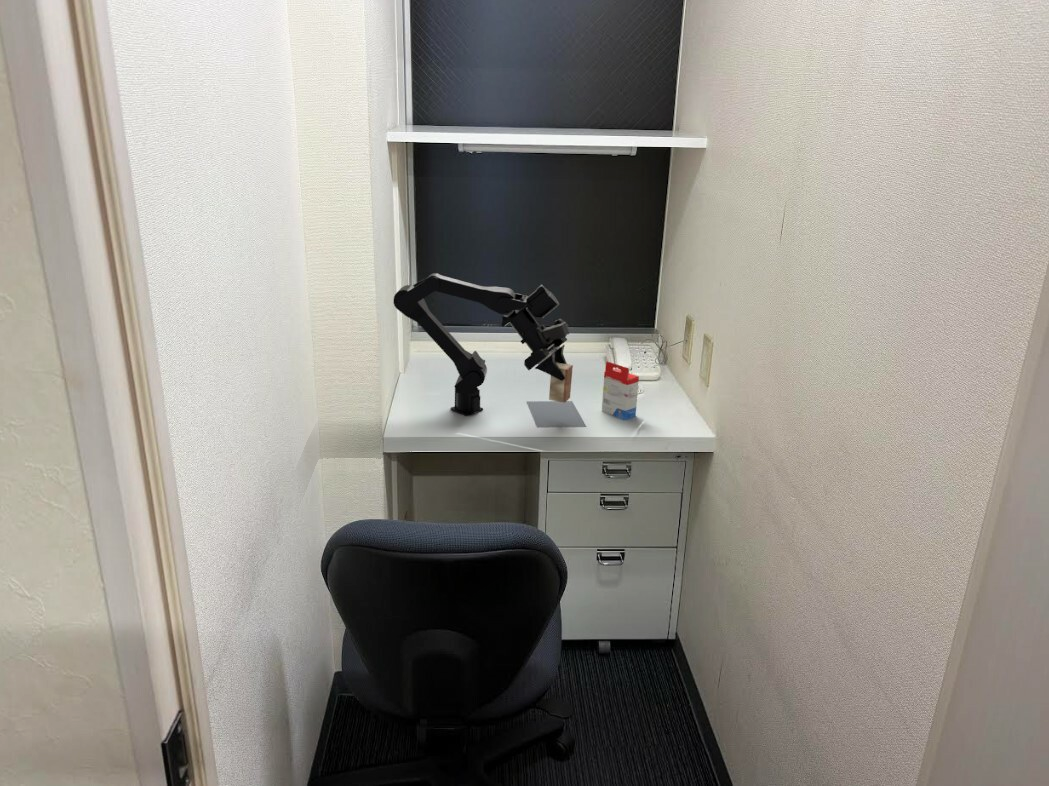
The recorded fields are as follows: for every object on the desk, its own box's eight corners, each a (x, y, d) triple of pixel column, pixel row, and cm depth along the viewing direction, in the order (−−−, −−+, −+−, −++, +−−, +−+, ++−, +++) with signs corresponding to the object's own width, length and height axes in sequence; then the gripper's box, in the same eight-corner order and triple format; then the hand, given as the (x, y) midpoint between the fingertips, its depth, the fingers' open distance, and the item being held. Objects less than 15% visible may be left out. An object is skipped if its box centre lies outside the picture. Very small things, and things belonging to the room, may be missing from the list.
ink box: (636, 417, 213) (641, 365, 208) (624, 421, 210) (629, 368, 205) (612, 408, 219) (616, 357, 214) (600, 412, 215) (604, 360, 211)
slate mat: (586, 428, 204) (586, 426, 204) (536, 428, 202) (537, 427, 202) (571, 402, 222) (571, 401, 221) (526, 402, 220) (526, 401, 219)
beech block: (548, 399, 205) (551, 366, 202) (554, 394, 208) (556, 362, 205) (565, 402, 203) (567, 369, 200) (570, 397, 207) (572, 364, 204)
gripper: (539, 319, 191) (579, 369, 191) (562, 303, 208) (599, 350, 208) (507, 345, 196) (546, 394, 196) (532, 328, 213) (568, 373, 213)
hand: (566, 377), depth 203 cm, fingers closed on beech block, 4 cm apart
